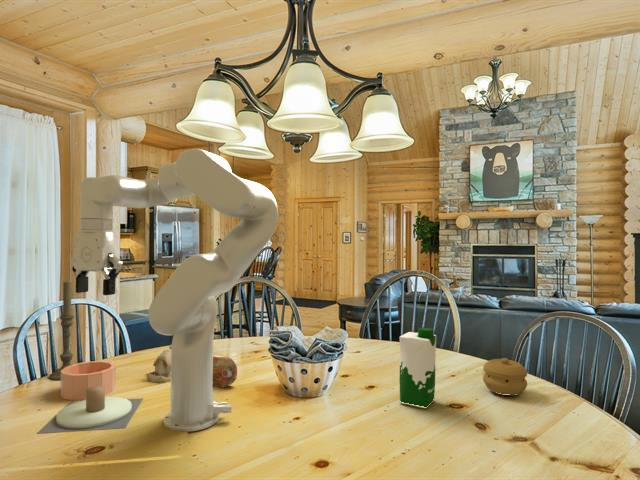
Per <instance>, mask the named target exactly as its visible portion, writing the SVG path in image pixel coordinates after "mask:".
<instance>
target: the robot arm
mask: <svg viewBox="0 0 640 480" xmlns="http://www.w3.org/2000/svg"><path fill="white" fill-rule="evenodd" d="M192 196H196V197H198V198H200V199H201V200H202V201H203V202H204V203H206V204H207V205H208V206H209V207H211V208H212V209H214V210H215V211H217V212H218V213H220V214H222V215H223V216H226V217H230V218H236V219H240V221H239V222H238V223H237V224H236V225H235V226H233V227H232V228H231V229H230V230H229V231H228V232H227V233H226V234H225V235H224V237H223V239H222V240H221V241H220V242H219V244H218V245H217V246H216V247H215V248H214V249H213V250H212V251H211V252H209V253H197V254H194V255H191V256H188V258H186V259H184V260H183V261H182V262H181V263H180V264H179V265H178V266H177V267H176V268H175V269H174V271H173V272H172V273H171V275H170V276H169V278H167V280H166V281H165V283H164V284H163V285H162V286H161V288H160V289H159V290H158V291H157V293H156V295H155V296H154V297H153V298H152V301H151V303H150V306H149V307H148V308H149V309H148V315H147V316H148V321H149V325H150V327H151V328H152V330H154V332H155V333H158V334H160V335H163V336H173V337H172V342H171V345H172V348H171V382H170V411H169V412H168V413H166V414H165V415H164V417H163V419H162V420H163V421H162V424H163V425H164V427H166V428H167V429H170V430H173V431H180V432H185V431H187V432H189V433H190V432H197V431H201V430H202V431H203V430H205V429H207V428H210V427H212V426H213V425H215V424H216V423H217V422H218V421H219V419H220V414H231V413H232V403H231V404H227V403H228V402H227V401H222V402H218V401H217V400H215V396H213V390H214V389H213V386H214V385H213V355H214V339H215V338H214V336H215V328H216V322H217V317H218V303H217V299H216V296H218V295H223V294H225V293H228V292H229V291H231V290H232V289H233V287H234V286H235V285H236V284H237V282H238V281H239V280H240V278H241V277H242V276H243V275H244V273H245V272H247V270H248V268H249V267H251V264H252V263H253V262H254V260H255V259H256V258H257V256H258V255H259V254H260V253H261V251H262V250H263V249H264V247H266V245H267V244H268V242H269V241H270V240H271V238H272V236H273V235H274V233H275V232H276V228H277V227H278V223H279V209H278V208H279V207H278V204H277V201H276V198H275V197H274V194H273V193H272V192H271V190H269V189H268V188H267V187H266V186H264V185H262V184H261V183H258V182H255V181H252V180H248V179H244V178H241V177H240V176H237V175H236V174H234V173H233V172H232V168H231V166H230V164H229V162H228V161H227V160H226V159H225V158H223V157H222V156H220V155H217V154H215V153H213V152H209V151H208V150H203V149H201V148H189V149H187V150H185V151H183V152H181V154H179V155H178V156H177V159H176V161H174V162H169V163H165V164H163V165H162V166H160V168H159V170H158V173H157V177H152V178H147V179H136V178H132V177H127V176H121V175H117V174H113V175H112V174H108V175H104V176H101V177H97V176H96V177H94V176H93V177H91V176H90V177H84V178H82V179H81V180H80V184H79V231H77V234H76V239H75V243H74V251H73V252H74V253H73V257H72V258H71V259H70V261H69V262H70V265H71V271H72V272H73V276H74V278H75V293H76V294H81V293H87V292H89V276H88V274H89V272H101V273H102V275H103V277H104V279H103V280H102V295H103V296H111V295H115V294H116V279H118V275H119V274H120V273H121V268H122V266H123V265H124V263H123V261H122V260H121V259H119V258H118V257H117V253H116V242H115V241H116V240H115V235H114V232H113V231H114V229H113V224H114V223H113V221H114V207H121V208H131V209H144V208H145V209H147V208H153V207H159V206H163V205H167V204H169V203H171V202H173V201H175V200H177V199H181V198H182V199H183V198H188V197H192Z"/></svg>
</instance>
